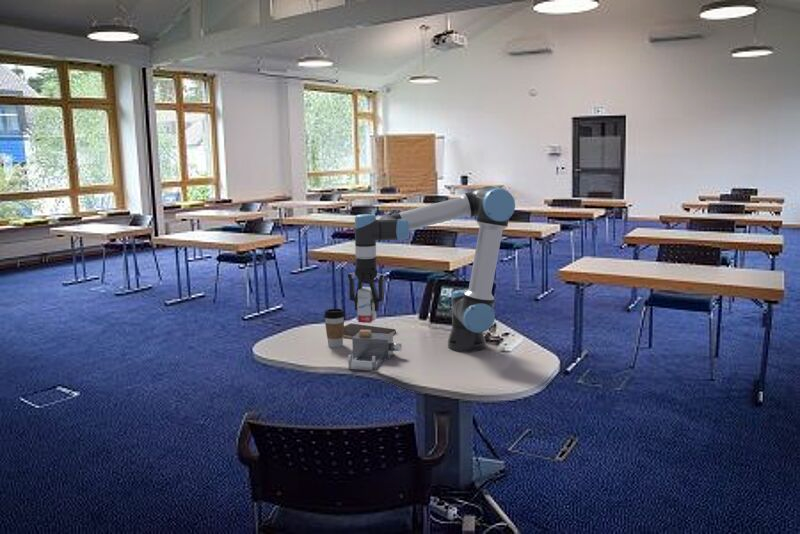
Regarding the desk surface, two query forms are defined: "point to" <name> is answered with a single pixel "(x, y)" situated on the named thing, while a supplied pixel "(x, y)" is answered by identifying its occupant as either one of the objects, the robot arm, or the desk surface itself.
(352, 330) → the hardcover book
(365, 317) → the ink box
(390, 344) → the motor block
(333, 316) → the coffee cup
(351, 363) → the clip bracket
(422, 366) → the desk surface
